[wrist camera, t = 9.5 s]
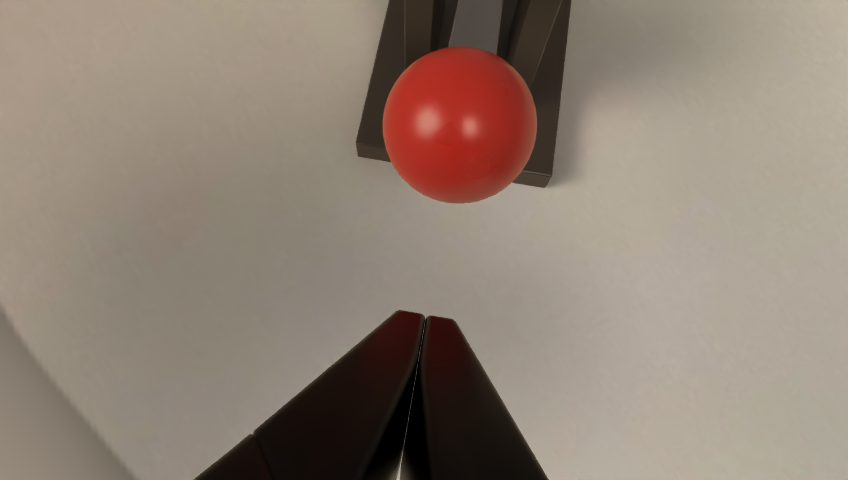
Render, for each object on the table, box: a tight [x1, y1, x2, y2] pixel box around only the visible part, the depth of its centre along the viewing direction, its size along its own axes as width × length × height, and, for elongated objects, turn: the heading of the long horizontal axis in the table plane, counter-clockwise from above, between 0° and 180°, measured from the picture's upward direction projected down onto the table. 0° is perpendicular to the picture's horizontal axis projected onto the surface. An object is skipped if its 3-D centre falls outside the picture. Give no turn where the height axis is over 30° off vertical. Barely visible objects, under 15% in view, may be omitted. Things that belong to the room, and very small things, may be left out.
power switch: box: [383, 0, 537, 203], centre depth 15 cm, size 13×3×3 cm, turn 170°
